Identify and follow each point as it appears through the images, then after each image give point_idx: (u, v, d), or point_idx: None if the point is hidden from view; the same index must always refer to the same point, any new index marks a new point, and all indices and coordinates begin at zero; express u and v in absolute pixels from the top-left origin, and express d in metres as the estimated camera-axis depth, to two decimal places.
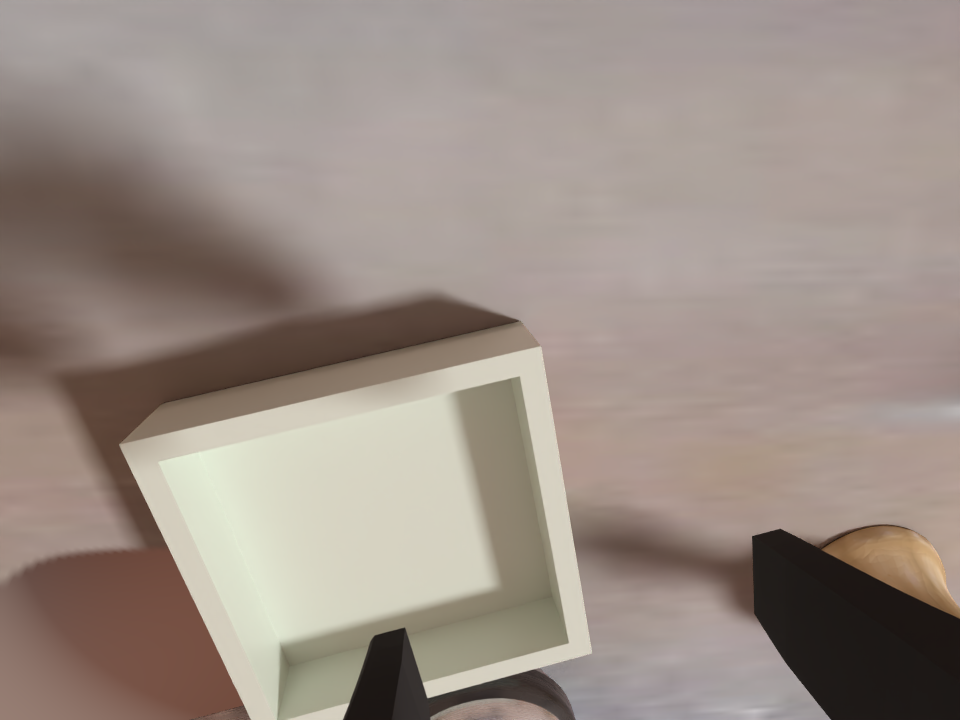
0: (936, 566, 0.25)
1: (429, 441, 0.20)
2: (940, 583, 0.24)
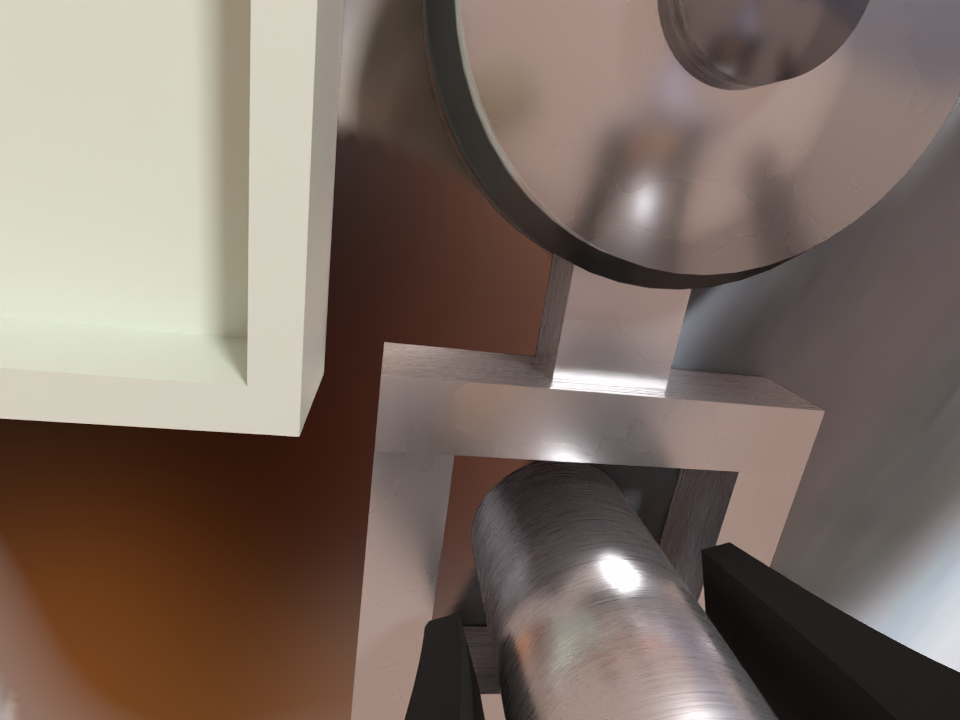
0: None
1: None
2: None
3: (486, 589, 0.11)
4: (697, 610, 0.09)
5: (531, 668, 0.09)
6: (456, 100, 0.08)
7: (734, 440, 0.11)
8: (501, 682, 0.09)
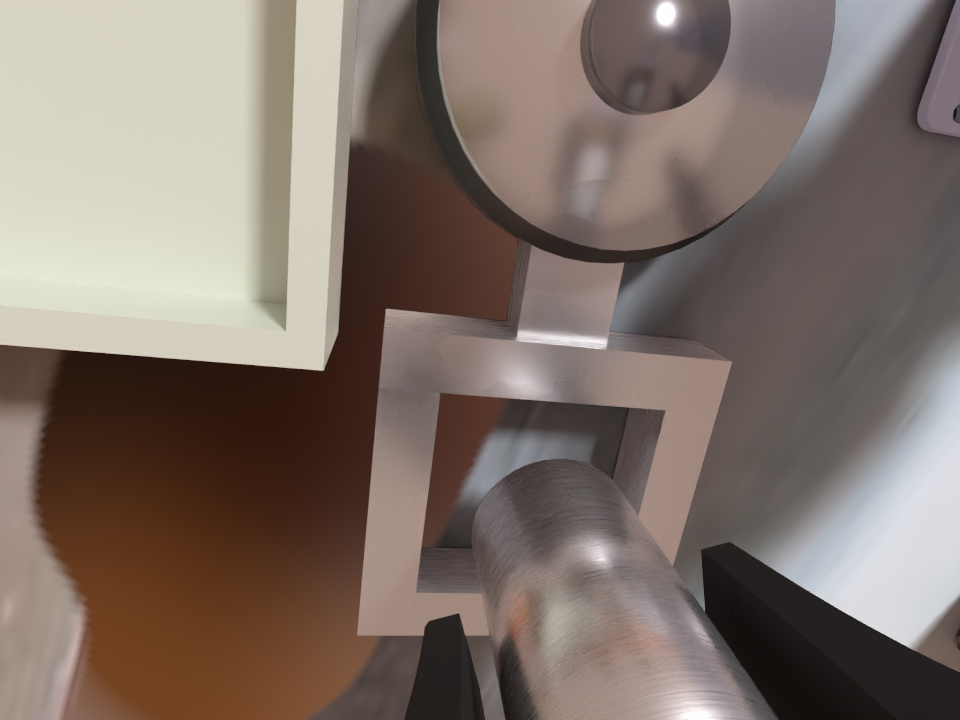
0: None
1: None
2: None
3: (486, 589, 0.11)
4: (697, 610, 0.09)
5: (532, 668, 0.09)
6: (439, 122, 0.11)
7: (660, 384, 0.14)
8: (501, 682, 0.09)
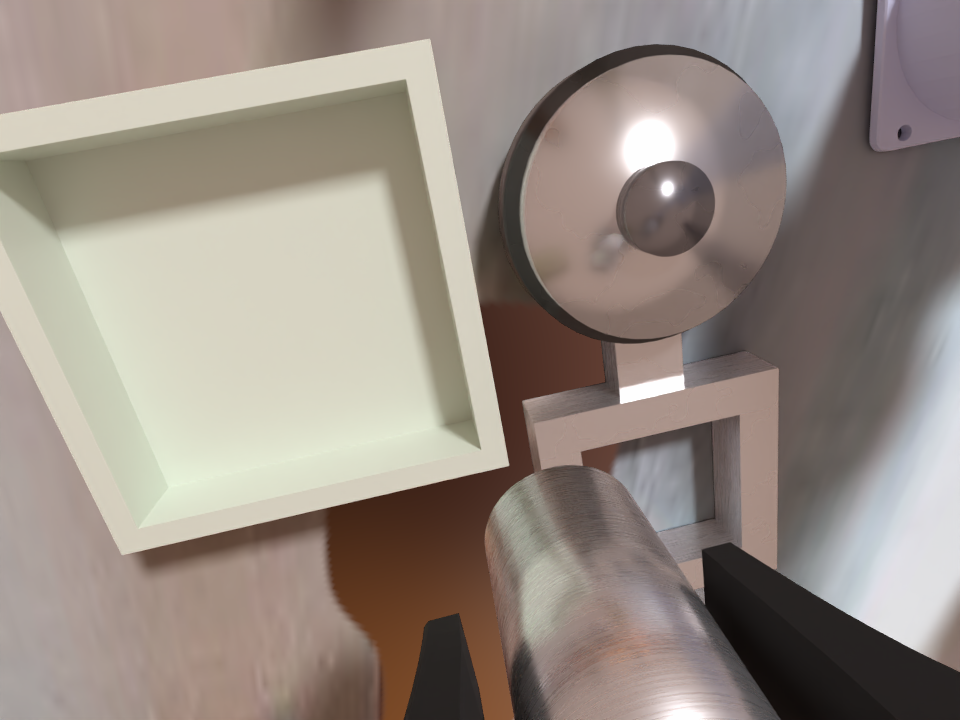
0: None
1: (163, 257, 0.17)
2: None
3: (497, 593, 0.11)
4: (702, 613, 0.09)
5: (538, 669, 0.09)
6: (537, 292, 0.17)
7: (730, 399, 0.20)
8: (511, 684, 0.10)
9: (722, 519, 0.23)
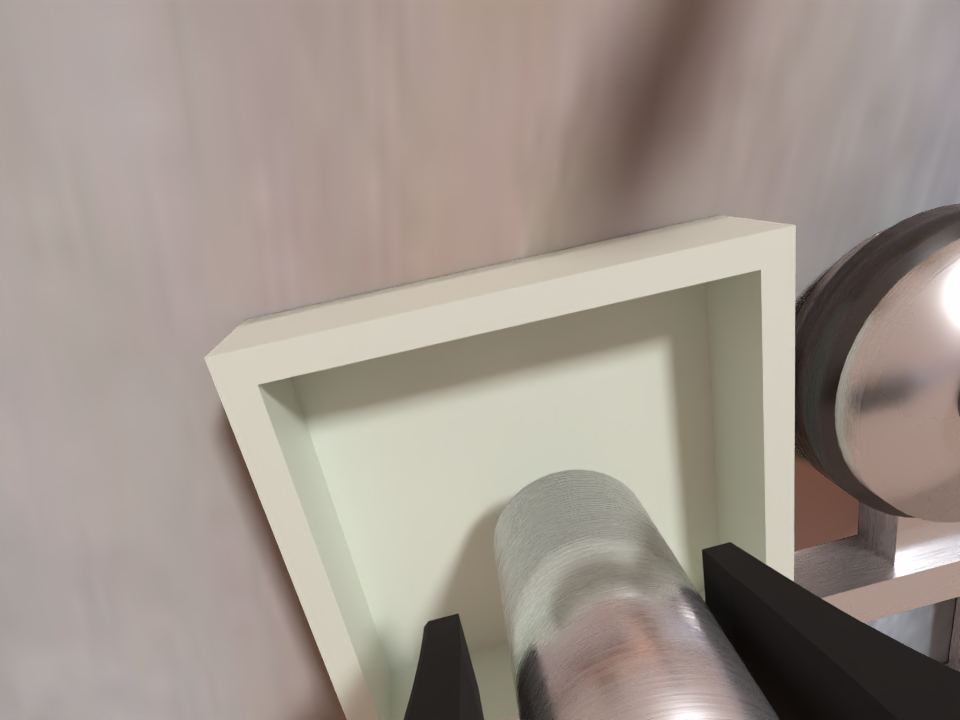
0: None
1: (418, 441, 0.15)
2: None
3: (504, 596, 0.12)
4: (704, 616, 0.09)
5: (540, 671, 0.09)
6: (841, 471, 0.15)
7: None
8: (515, 685, 0.10)
9: None
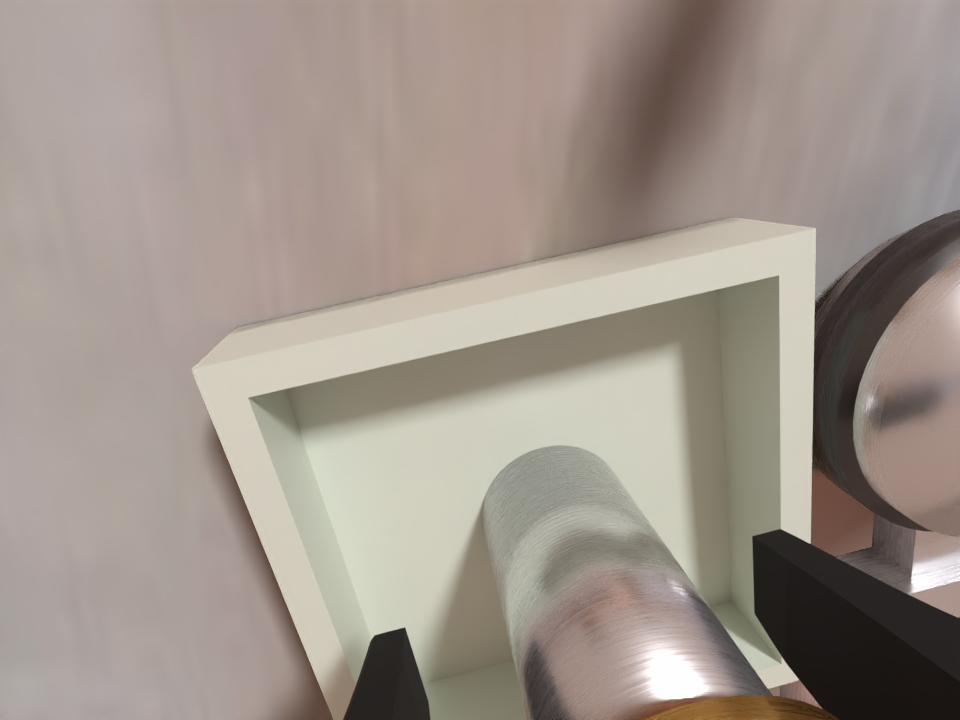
0: None
1: (418, 453, 0.14)
2: None
3: (495, 561, 0.13)
4: (673, 566, 0.11)
5: (533, 620, 0.10)
6: (858, 484, 0.14)
7: None
8: (510, 636, 0.11)
9: None
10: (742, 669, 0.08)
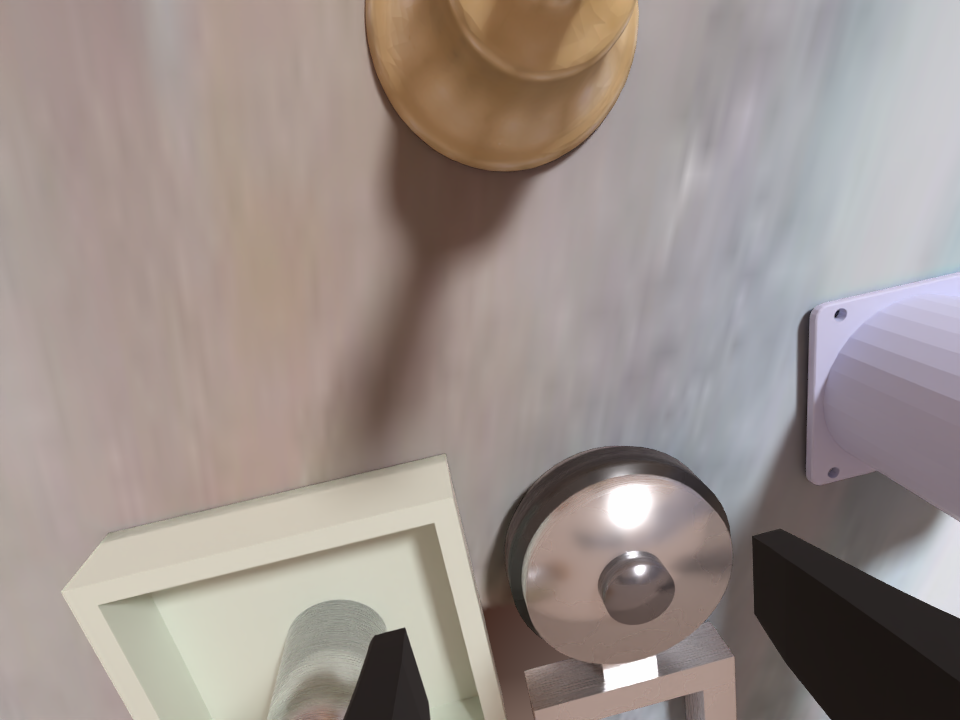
0: None
1: (236, 608, 0.21)
2: None
3: None
4: None
5: None
6: None
7: (695, 680, 0.24)
8: None
9: None
10: None
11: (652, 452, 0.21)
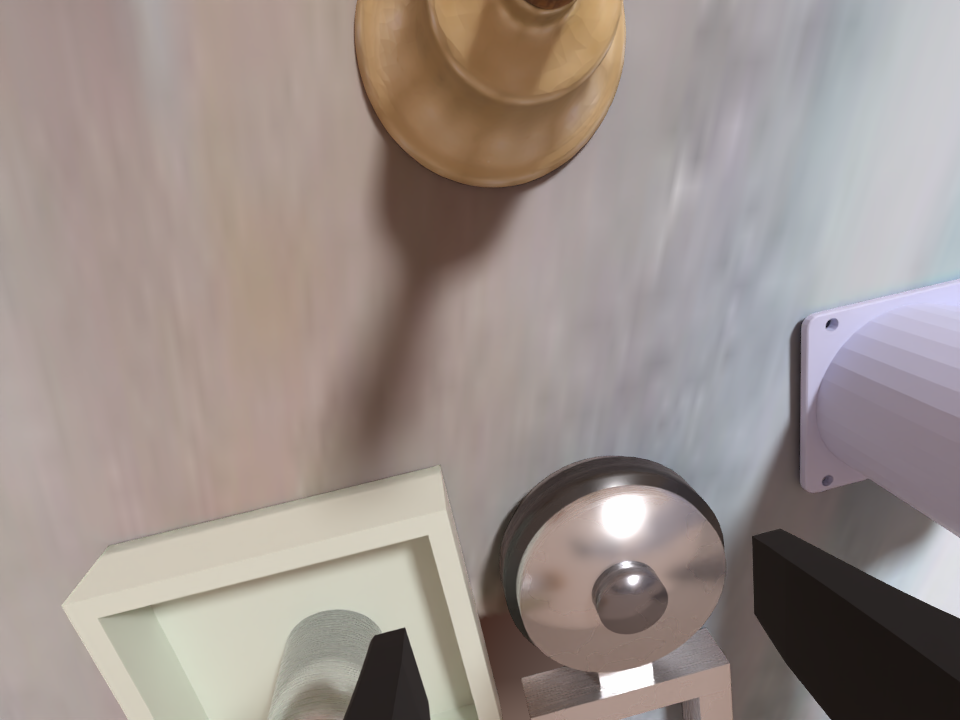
0: None
1: (235, 618, 0.21)
2: None
3: None
4: None
5: None
6: None
7: (691, 687, 0.24)
8: None
9: None
10: None
11: (645, 462, 0.21)
